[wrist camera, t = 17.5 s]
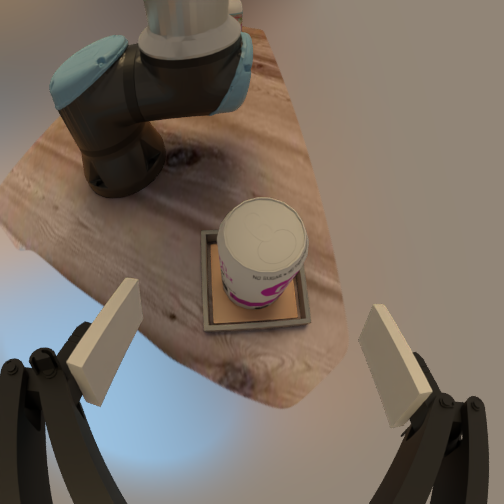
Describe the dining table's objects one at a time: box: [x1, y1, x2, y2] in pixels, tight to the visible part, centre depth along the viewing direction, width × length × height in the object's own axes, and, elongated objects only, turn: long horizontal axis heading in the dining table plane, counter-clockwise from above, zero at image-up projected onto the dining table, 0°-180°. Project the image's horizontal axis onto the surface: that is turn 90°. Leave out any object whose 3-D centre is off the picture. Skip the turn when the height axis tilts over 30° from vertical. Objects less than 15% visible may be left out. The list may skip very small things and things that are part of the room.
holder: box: [201, 230, 311, 332], centre depth 36 cm, size 13×13×2 cm
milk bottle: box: [228, 0, 243, 31], centre depth 54 cm, size 8×8×20 cm
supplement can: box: [217, 197, 309, 310], centre depth 30 cm, size 8×8×15 cm
